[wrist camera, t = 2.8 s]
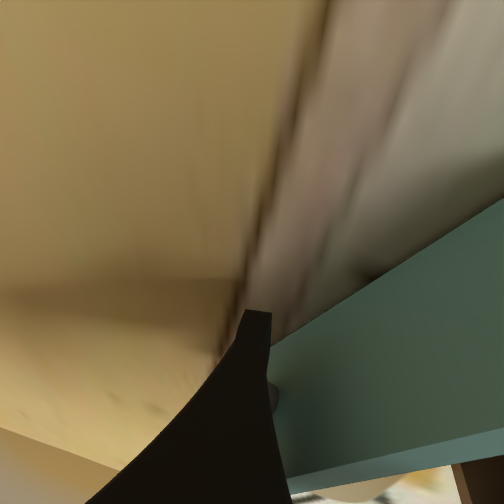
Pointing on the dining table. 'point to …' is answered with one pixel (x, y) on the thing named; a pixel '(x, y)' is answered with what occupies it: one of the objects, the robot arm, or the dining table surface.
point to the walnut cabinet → (480, 480)
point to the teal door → (399, 368)
